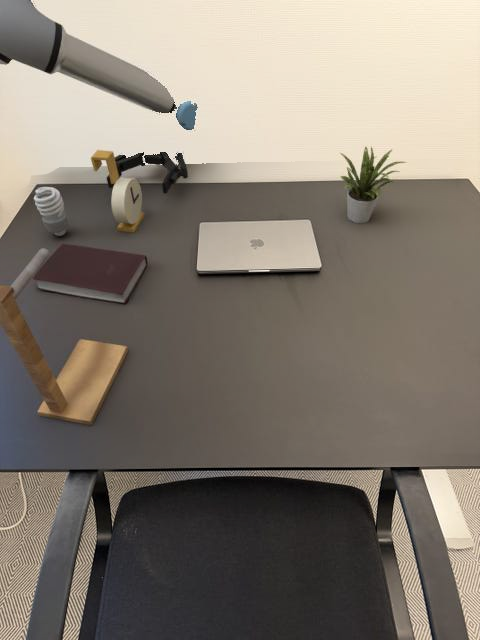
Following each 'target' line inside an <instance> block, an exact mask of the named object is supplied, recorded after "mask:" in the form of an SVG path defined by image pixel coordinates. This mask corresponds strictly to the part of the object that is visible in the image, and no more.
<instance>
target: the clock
mask: <svg viewBox="0 0 480 640" xmlns="http://www.w3.org/2000/svg"><path fill="white" fill-rule="evenodd" d="M115 157H116V156H115V153H114V151H112V150H102V149H97V150H96V151H95V152H94V153H93V154H92V156H91V157H90V160H91V165H92V168H93V171H94V172H98V170H99V169H100V168H101V167H102V166H103V163H102V161H105V163H106V164H105V165H106V168H107V172H108V175H109V176H110V180H111V184H114V183H115V184H114V186H113V187H112V192H111V197H110V199H111V201H110V202H111V211H112V215H113V218H114V220H115V221H116V222H117V223H119V224H118V225H117V227H116V228H117V231H118V232H124V233H125V232H126V233H135V232H136V231H137V229H138V227H139V226H140V224H141V222H142V220H143V219H144V217H145V212H144V211H142V206H143V192H142V187H141V185H140V182H139V181H138V179H136V178H130V177H120V178H119V175H118V171H117V166H116V162H115ZM118 178H119V179H118ZM117 179H118V180H117ZM116 180H117V181H116Z"/></svg>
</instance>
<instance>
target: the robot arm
mask: <svg viewBox="0 0 480 640" xmlns="http://www.w3.org/2000/svg"><path fill="white" fill-rule="evenodd" d="M35 7H36V6H35ZM35 7H34V5H33V3H32V2H31V0H0V65H7V64H8V65H9V64H10V63H11V62H12V61H15V62H18V63H21V64H23V65H25V66H28V67H30V68H33V69H36V70H39V71H41V72H43V73H46V74H49V75H53V74H55V73H60V74H62V75H64V76H67V77H69V78H72V79H73V80H77V81H78V82H82V83H83V84H86V85H88V86H90V87H93V88H96V89H98V90H100V91H103V92H105V93H107V94H110V95H112V96H114V97H117V98H119V99H122V100H124V101H126V102H129V103H132V104H134V105H136V106H139V107H141V108H143V109H146V110H148V109H149V110H148V111H150V110H152V111H151V112H153V111H155V112H159V113H160V112H161V113H169V112H170V113H172V111H175V110H174V109H177V107H176V105H175V104H174V103H175V102H174V99H173V97H171V95H170V93H169V92H168V90H167V88H165V86H163V85H162V84H161V83H160V82H158V80H156V79H155V78H153V77H152V76H150V75H149V74H148V73H147V72H148V71H147V72H145V71H146V70H145V69H143V68H141V67H139V66H136V65H134V64H132V63H130V62H128V61H126V60H124V59H121V58H120V57H117V56H115V55H113V54H111V53H109V52H107V51H105V50H103V49H101V48H98V47H97V46H94V45H92V44H90V43H88V42H86V41H83V40H81V39H80V38H78V37H75V36H73V35H71V34H69V33H67V31H66V29H65V27H64V25H63V24H61V23H58V22H56V21H55V20H53V19H51V18H49V17H48V16H46V15H45V14H44V13H42V12H41V11H40V10H38V9H37V7H36V8H35ZM11 60H12V61H11ZM10 61H11V62H10ZM138 67H139V68H138ZM140 68H141V69H140ZM142 69H143V70H142ZM144 70H145V71H144ZM197 108H198V107H197V104H196V103H194V105H193V104H191V101H187V102H184V103H183V104H180V106H179V107H178V110H177V113H176V118H177V120H178V122H179V124H180V125H181V126H182V127H183V128H184V129H186V130H192V129H194V125H195V120H196V119H195V116H196V112H195V111H196V110H197ZM155 112H154V113H155ZM177 153H178V152H177ZM177 153H176V154H177ZM143 155H144V152H143V153H138V154H136V155H134V156H131V157H128V158H126V156H125V155H120V154H118V155H116V156H114V157H115V162H116V166H117V171H118V175H119V178H122V176H123V172H126V171H128V170H131V169H134V168H137V167H145V166H146V165H145V163H143V162H144V161H145V162H146V163H148V165H156V166H160V165H161V164H162V165H161V166H162V167H163V168H164V169H167V171H168V172H167V174H166V175H165V177H164V179H163V180H162V182H161V187H162V193H163V194H168V192H169V191H170V189H171V187H172V186H173V185H175V184H176V183H177V182H178V181H179V179H181V178H183V179H188V178H189V175H188V167H187V164H186V161H185V158H184V159H183V155H182V153H178V154H177V156H175V158H176V160H175V161H177V160H178V162H177V163H178V164H176V163H175V162H174V161H173V160H171V159H170V158H169V156H168V154H167V153H166V152H160V154H157V155H156V154H155V155H154V154H153V155H145V156H144V158H145V160H144V159H143V157H142V156H143ZM175 158H174V159H175ZM119 178H118V179H119ZM118 179H117V180H118ZM117 180H116V181H117ZM106 181H107V187H108V189H113V187H114V184H115V183H114V184H111V180H110V176H109V174H108V175H107V176H106Z"/></svg>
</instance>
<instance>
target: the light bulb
mask: <svg viewBox="0 0 480 640" xmlns="http://www.w3.org/2000/svg"><path fill="white" fill-rule="evenodd" d="M33 201H34V204H35V206H36V209H37V211H38V212H39V214H40V215H41V216H42V217H41V220H42V223H43V225H44V227H45V229H46V231H47V232H49V233H53V234H54V235H55V236H58V237H62V236H64V235H65V233H66V232H67V231H66V230H67V229H68V228H69V227H70V222H69V217H68V214H67V212H66V211H65V205H64V200H63V197H62V195H61V192H60V191H59V189H57V188H55V187H51V186H42V187H41V186H40V187H39V188H36V189H35V195H34V197H33Z"/></svg>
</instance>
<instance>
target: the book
mask: <svg viewBox="0 0 480 640" xmlns="http://www.w3.org/2000/svg"><path fill="white" fill-rule="evenodd" d="M147 266H148V257H147V255H145V254H140V253H132V252H127V251H117V250H111V249H103V248H96V247H91V246H84V245H77V244H71V243H64V242H63V243H61V244H60V245H59V246H58V247H57V248H56V249H55V250H54V252H53V253H52V254H50V255H49V257H48V258H47V259H46V260H45V262H44V263H43V264H42V266H41V267H40V268H39V270H38V271H37V272H36V273H35V275H34V276H33V277H32V280H34V281H35V282H36V284H37V285H36V289H38V290H41V291H47V292H51V293H57V294H62V295H63V294H64V295H67V296H73V297H79V298H86V299H92V300H98V301H102V302H103V301H105V302H111V303H118V304H126V303H127V301H128V300H129V298H130V297H131V295H132V293H133V291H134V290H135V288H136V287H137V285H138V282H139V281H140V279H141V277H142V276H143V274H144V272H145V271H146V269H147Z"/></svg>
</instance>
